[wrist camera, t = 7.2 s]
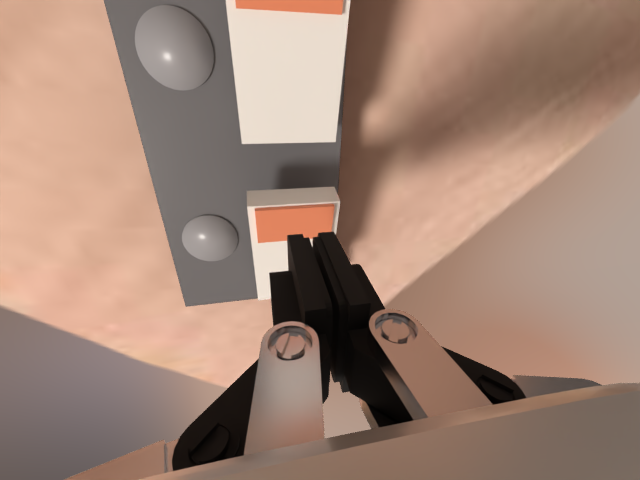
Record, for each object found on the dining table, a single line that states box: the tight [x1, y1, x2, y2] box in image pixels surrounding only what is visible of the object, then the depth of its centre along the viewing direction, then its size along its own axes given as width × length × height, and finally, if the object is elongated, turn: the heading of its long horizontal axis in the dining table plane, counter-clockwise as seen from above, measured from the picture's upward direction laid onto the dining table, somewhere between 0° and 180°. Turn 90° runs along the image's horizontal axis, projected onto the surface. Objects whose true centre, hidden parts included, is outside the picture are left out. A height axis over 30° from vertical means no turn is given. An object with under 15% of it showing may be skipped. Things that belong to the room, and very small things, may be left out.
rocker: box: [247, 187, 340, 300], centre depth 15 cm, size 6×4×1 cm, turn 178°
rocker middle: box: [226, 0, 350, 144], centre depth 11 cm, size 6×4×1 cm, turn 178°
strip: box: [104, 0, 347, 306], centre depth 13 cm, size 26×9×3 cm, turn 179°
